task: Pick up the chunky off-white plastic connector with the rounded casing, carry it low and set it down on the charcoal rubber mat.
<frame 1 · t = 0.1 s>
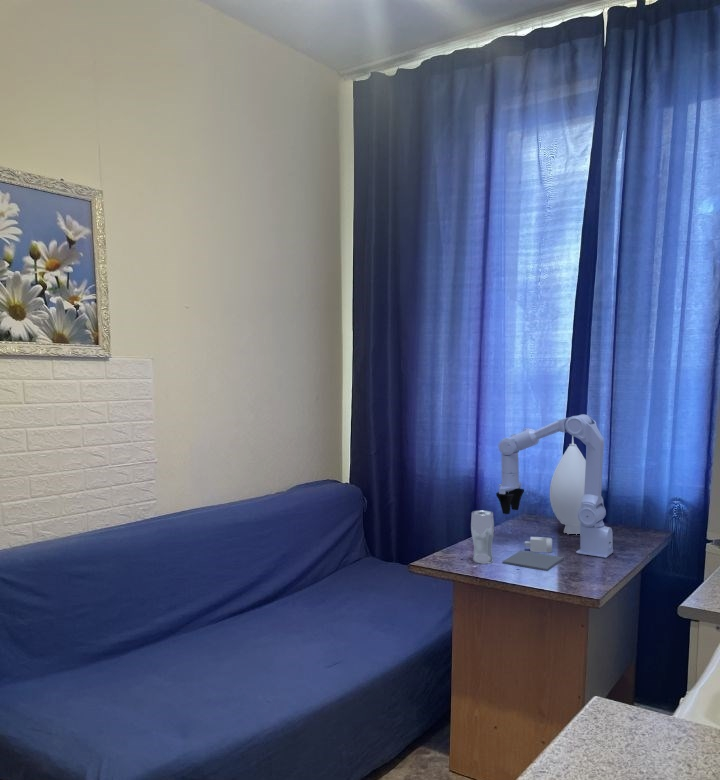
hand: (510, 511, 221), 10 cm above the table, fingers open, 7 cm apart
lamp: (573, 533, 230), on the table
connector: (538, 550, 208), on the table
beer glass: (482, 561, 198), on the table
mat: (533, 561, 197), on the table
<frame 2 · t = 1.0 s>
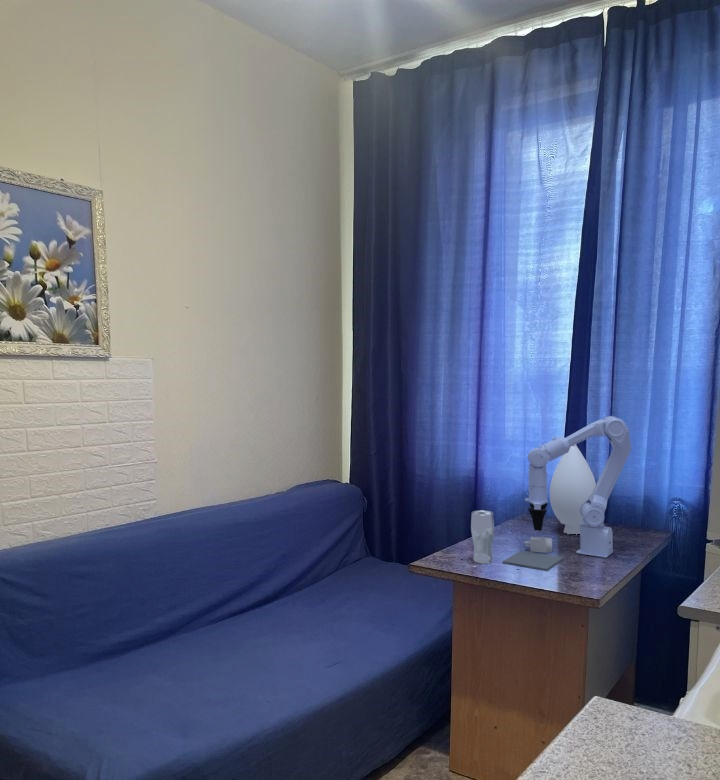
hand: (538, 527, 208), 8 cm above the table, fingers open, 7 cm apart
nothing on the table moved.
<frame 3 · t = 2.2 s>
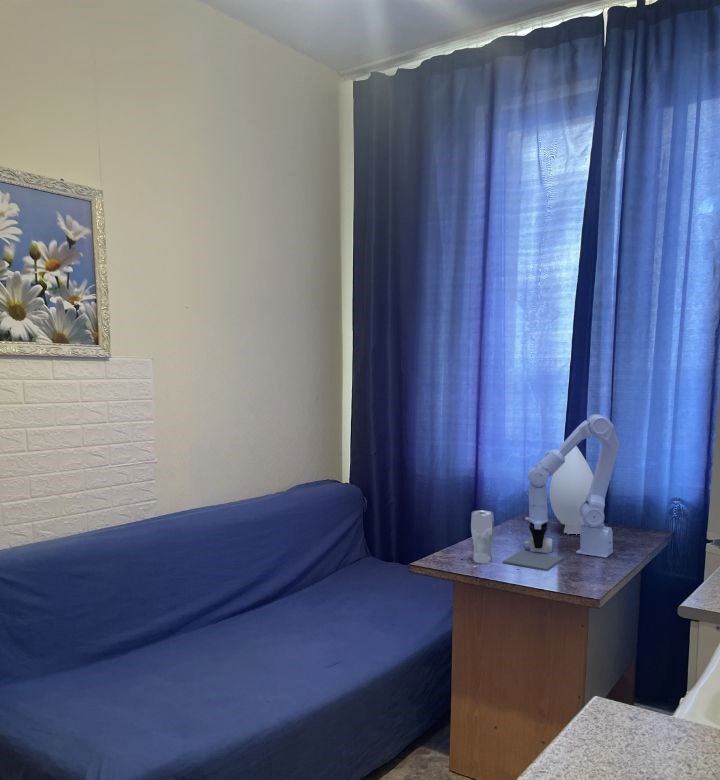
hand: (538, 546, 208), 1 cm above the table, fingers closed on connector, 3 cm apart
connector: (538, 550, 208), on the table, touching gripper
everything else where it was.
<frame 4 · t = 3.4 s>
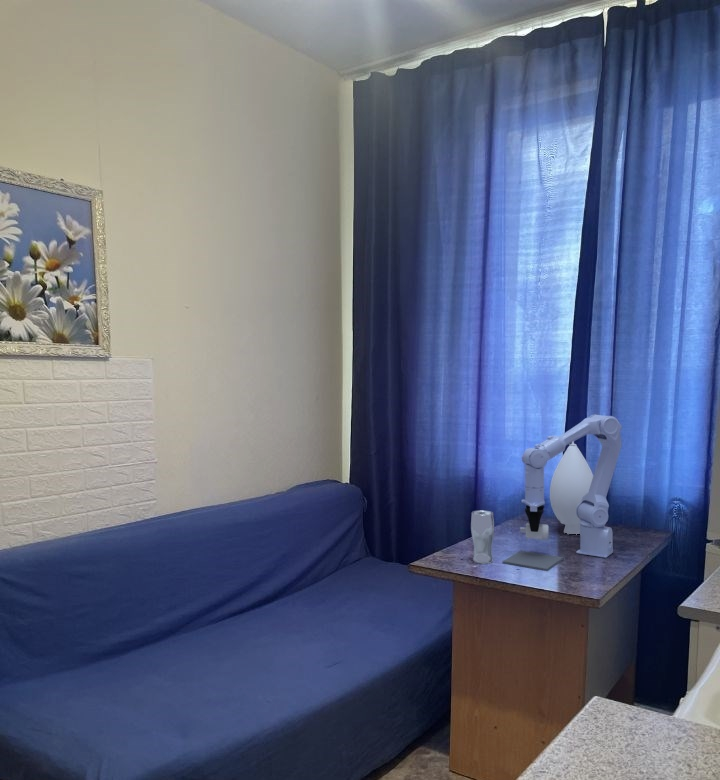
hand: (534, 529, 201), 8 cm above the table, fingers closed on connector, 3 cm apart
connector: (534, 537, 201), point 6 cm above the table, touching gripper
everything else where it was.
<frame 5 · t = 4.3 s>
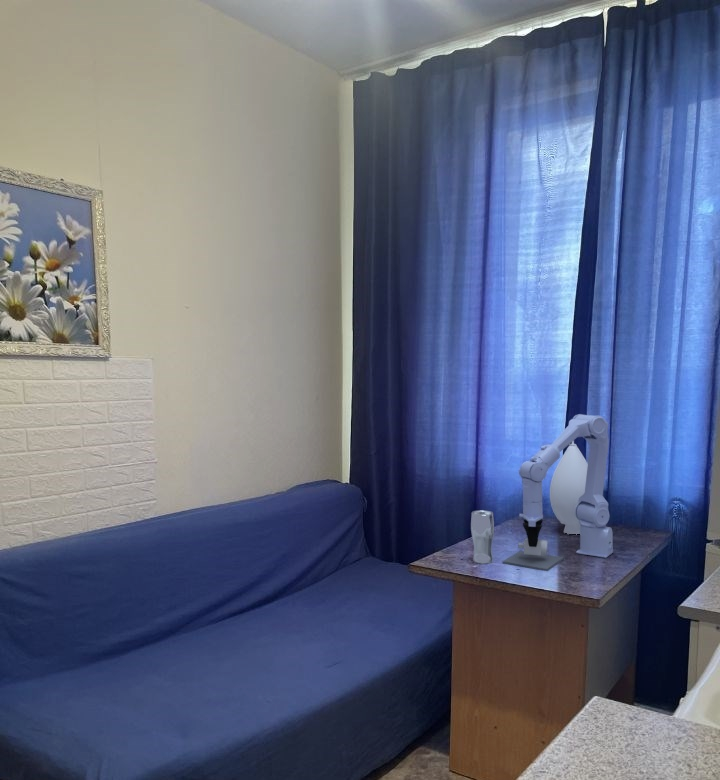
hand: (533, 544, 197), 5 cm above the table, fingers closed on connector, 3 cm apart
connector: (532, 553, 197), point 2 cm above the table, touching gripper
everything else where it was.
when the fingers open (4 cm above the table, at t = 5.0 s): connector stays where it is, resting on mat.
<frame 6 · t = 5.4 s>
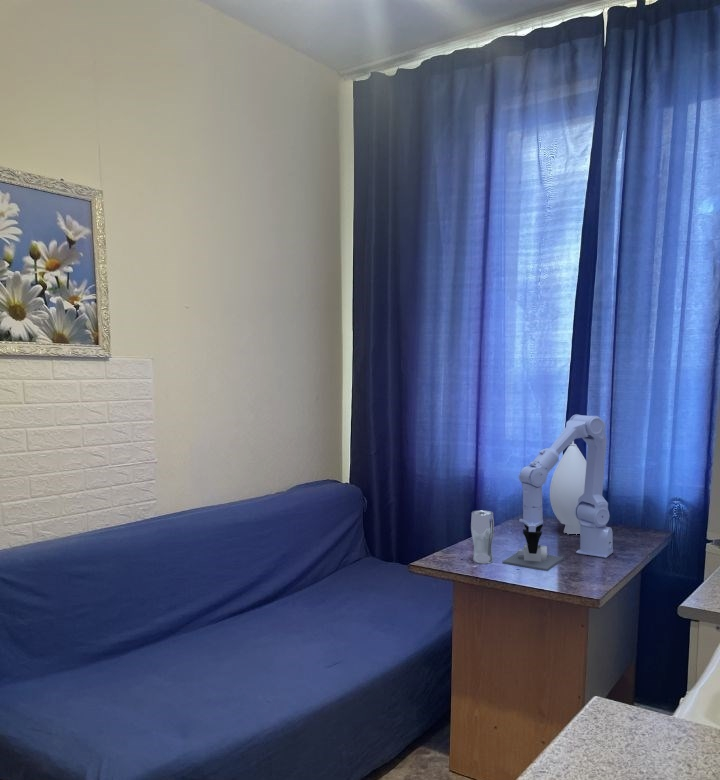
hand: (533, 549, 197), 4 cm above the table, fingers open, 7 cm apart
connector: (532, 559, 197), point 1 cm above the table, touching mat
everything else where it was.
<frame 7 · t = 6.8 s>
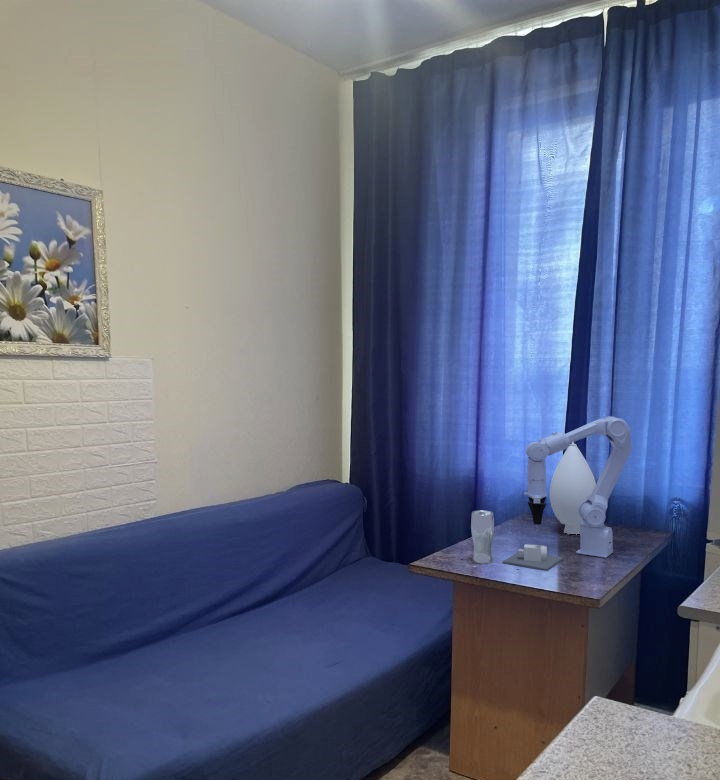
hand: (537, 521, 207), 10 cm above the table, fingers open, 7 cm apart
nothing on the table moved.
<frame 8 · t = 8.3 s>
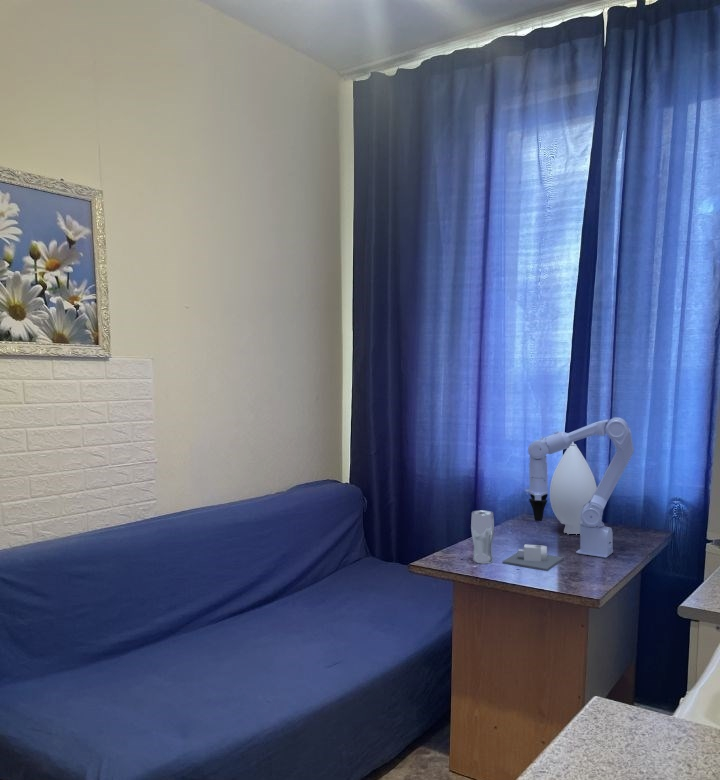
hand: (538, 518, 211), 10 cm above the table, fingers open, 7 cm apart
nothing on the table moved.
at the end: connector inside the target area on the mat (0.2 cm from its centre), point 0.6 cm above the mat's base; the gripper is holding nothing; connector moved 12.4 cm from its start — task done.
